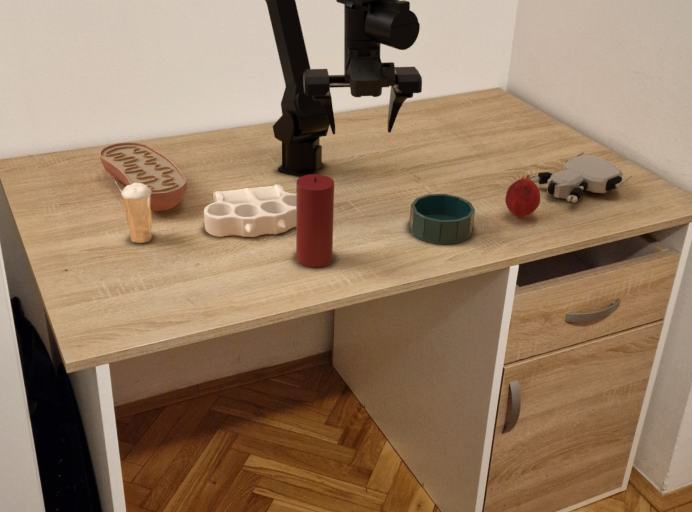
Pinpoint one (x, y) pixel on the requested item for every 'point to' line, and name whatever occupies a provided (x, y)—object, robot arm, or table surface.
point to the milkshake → (138, 211)
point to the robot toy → (581, 177)
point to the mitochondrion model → (145, 172)
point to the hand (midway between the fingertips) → (361, 132)
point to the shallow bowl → (441, 218)
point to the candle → (314, 220)
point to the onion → (523, 197)
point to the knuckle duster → (251, 212)
